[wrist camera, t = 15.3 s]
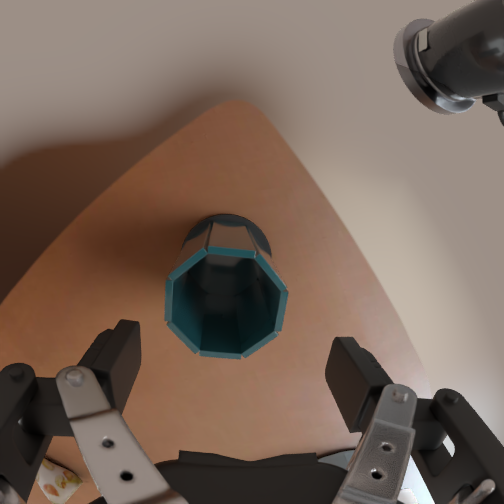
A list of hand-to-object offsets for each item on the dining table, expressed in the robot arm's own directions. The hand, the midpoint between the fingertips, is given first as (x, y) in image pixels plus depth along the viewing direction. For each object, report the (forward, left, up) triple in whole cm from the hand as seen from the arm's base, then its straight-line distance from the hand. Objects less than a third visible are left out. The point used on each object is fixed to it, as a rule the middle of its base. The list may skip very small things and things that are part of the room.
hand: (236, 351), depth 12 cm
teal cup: (0, 0, -13) cm, 13 cm away
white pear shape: (+24, +36, -13) cm, 45 cm away
